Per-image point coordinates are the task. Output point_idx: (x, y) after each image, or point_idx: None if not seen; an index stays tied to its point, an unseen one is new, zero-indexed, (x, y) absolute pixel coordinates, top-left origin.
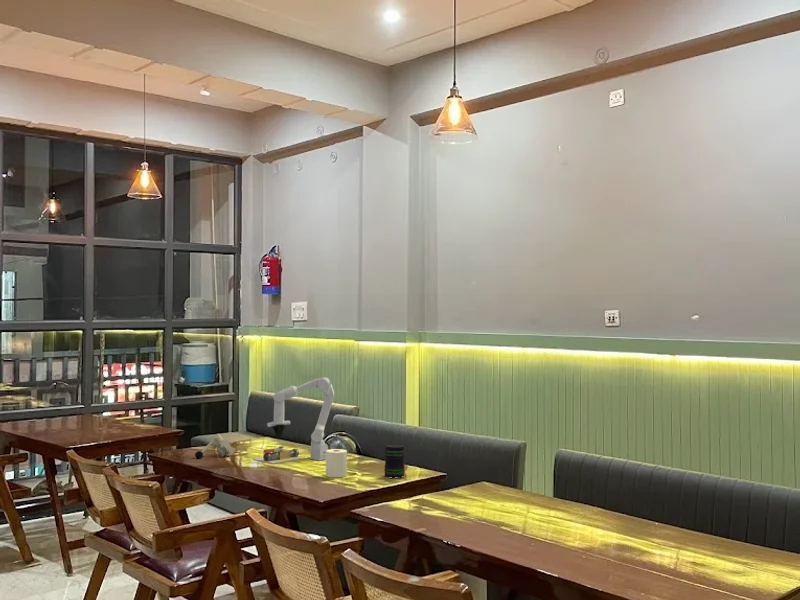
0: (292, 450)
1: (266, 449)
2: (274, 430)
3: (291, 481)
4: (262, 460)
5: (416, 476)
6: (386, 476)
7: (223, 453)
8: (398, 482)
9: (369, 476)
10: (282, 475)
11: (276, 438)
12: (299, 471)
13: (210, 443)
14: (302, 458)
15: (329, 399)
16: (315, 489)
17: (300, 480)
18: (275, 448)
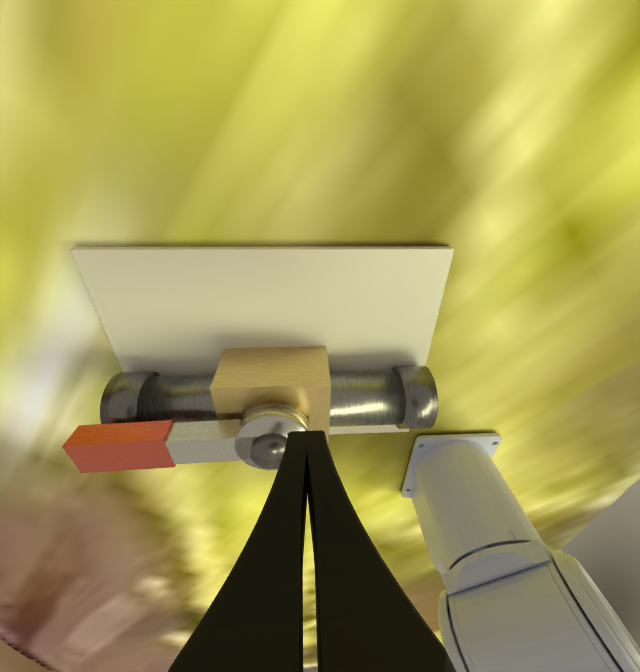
0: (380, 424)
1: (98, 446)
2: (233, 572)
3: (85, 617)
4: (119, 360)
5: None
6: None
7: None
8: (310, 664)
9: (311, 637)
10: (90, 577)
11: (287, 434)
12: (184, 565)
13: None
14: (394, 428)
15: None
16: (109, 656)
17: (118, 618)
18: (204, 446)
